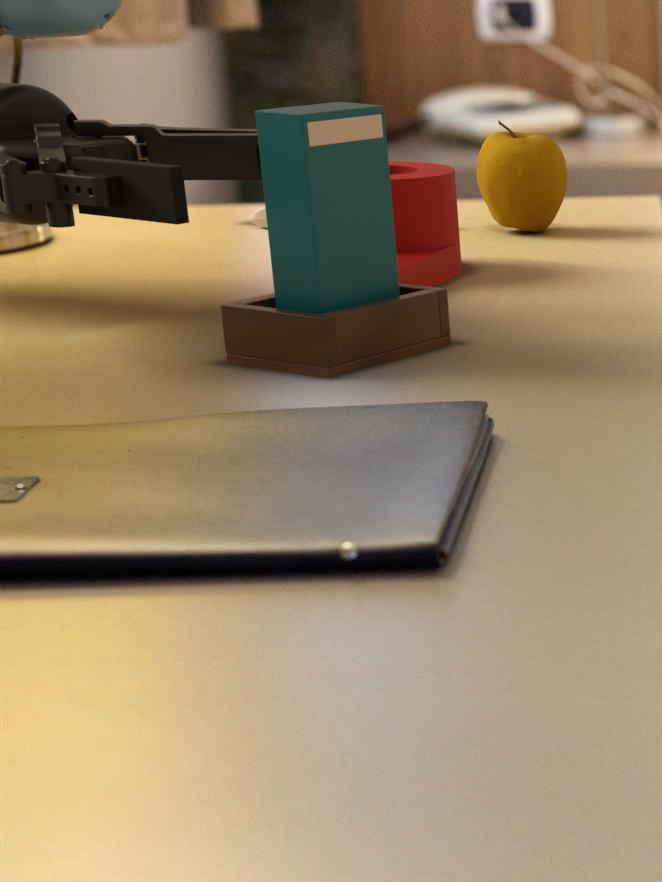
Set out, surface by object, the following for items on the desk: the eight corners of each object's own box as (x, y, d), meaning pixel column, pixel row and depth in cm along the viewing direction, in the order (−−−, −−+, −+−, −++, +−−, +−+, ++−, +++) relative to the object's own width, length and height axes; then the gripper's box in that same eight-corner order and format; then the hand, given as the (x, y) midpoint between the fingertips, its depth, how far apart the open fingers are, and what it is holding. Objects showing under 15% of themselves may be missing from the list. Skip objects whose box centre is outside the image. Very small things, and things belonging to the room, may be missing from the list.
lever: (320, 263, 129) (310, 160, 127) (467, 262, 131) (459, 161, 128) (277, 316, 113) (264, 199, 110) (445, 314, 114) (436, 199, 112)
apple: (462, 230, 144) (454, 118, 141) (535, 222, 148) (529, 114, 145) (513, 241, 140) (506, 126, 137) (586, 233, 144) (581, 121, 141)
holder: (328, 383, 98) (322, 318, 96) (227, 369, 100) (219, 304, 99) (452, 349, 106) (447, 288, 105) (355, 336, 108) (350, 276, 107)
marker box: (326, 357, 99) (302, 114, 95) (279, 350, 101) (253, 110, 96) (404, 336, 105) (385, 105, 100) (358, 330, 106) (337, 101, 101)
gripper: (-242, 96, 96) (73, 125, 88) (153, 68, 118) (435, 89, 110) (-212, 249, 99) (96, 290, 91) (169, 194, 120) (445, 224, 112)
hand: (282, 180), depth 100 cm, fingers open, 13 cm apart
